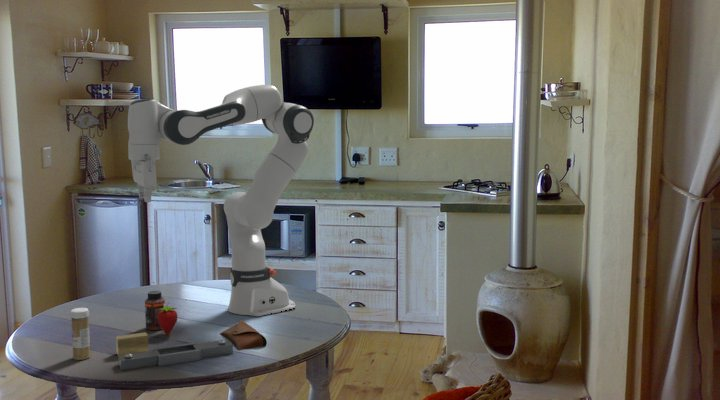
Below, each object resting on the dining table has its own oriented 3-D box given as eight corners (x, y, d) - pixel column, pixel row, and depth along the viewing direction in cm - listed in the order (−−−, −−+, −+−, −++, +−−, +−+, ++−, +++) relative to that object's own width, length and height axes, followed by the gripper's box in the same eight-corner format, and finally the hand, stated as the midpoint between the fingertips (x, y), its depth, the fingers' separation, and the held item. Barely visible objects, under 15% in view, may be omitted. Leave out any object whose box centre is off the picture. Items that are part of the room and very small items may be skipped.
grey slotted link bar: (226, 346, 204) (226, 336, 203) (234, 354, 197) (233, 343, 197) (118, 363, 191) (117, 351, 190) (122, 371, 184) (121, 360, 184)
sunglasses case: (217, 333, 216) (227, 312, 217) (236, 341, 219) (246, 321, 220) (239, 350, 200) (250, 329, 201) (259, 359, 204) (270, 338, 205)
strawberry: (176, 329, 219) (175, 297, 218) (179, 337, 212) (178, 304, 211) (156, 331, 217) (155, 299, 216) (159, 339, 210) (158, 306, 209)
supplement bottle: (170, 326, 222) (168, 290, 221) (157, 332, 217) (155, 295, 215) (154, 324, 225) (153, 288, 223) (141, 329, 219) (140, 293, 218)
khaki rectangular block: (146, 349, 202) (145, 332, 201) (148, 352, 199) (147, 335, 198) (116, 353, 198) (116, 336, 198) (118, 357, 196) (117, 339, 195)
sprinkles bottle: (69, 357, 194) (67, 309, 193) (85, 353, 198) (83, 306, 196) (78, 361, 191) (75, 312, 190) (94, 357, 195) (91, 309, 193)
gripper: (161, 155, 205) (162, 204, 206) (149, 151, 223) (150, 195, 225) (138, 156, 202) (139, 204, 204) (128, 151, 220) (129, 196, 222)
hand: (145, 200), depth 214 cm, fingers open, 8 cm apart
